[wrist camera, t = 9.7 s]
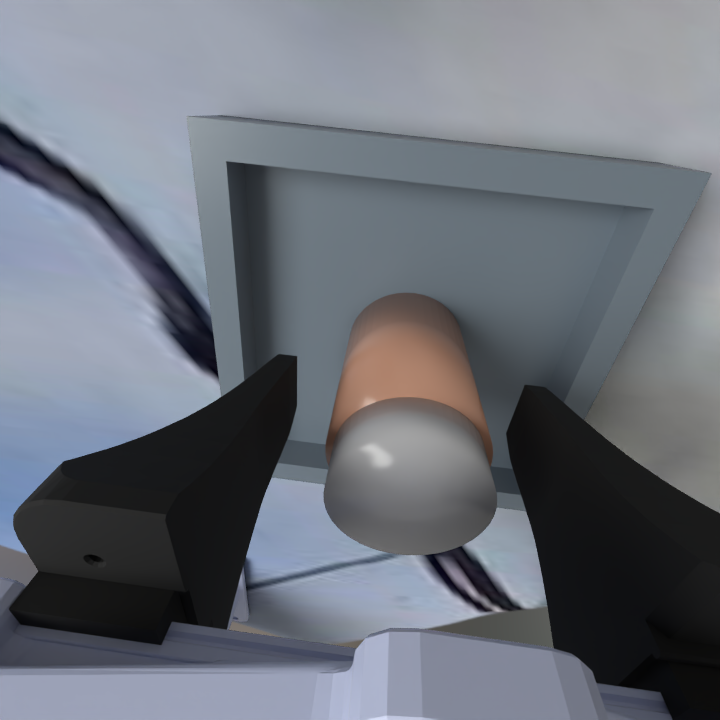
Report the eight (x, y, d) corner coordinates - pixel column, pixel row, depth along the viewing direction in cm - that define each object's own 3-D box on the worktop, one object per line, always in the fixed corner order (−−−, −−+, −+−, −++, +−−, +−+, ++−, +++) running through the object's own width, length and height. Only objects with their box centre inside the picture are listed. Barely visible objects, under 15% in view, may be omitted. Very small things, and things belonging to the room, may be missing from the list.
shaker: (345, 383, 17) (312, 547, 10) (353, 286, 14) (318, 421, 8) (448, 396, 17) (479, 569, 10) (474, 300, 14) (533, 448, 8)
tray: (248, 434, 20) (230, 471, 18) (221, 115, 13) (186, 116, 11) (521, 470, 20) (536, 512, 18) (659, 162, 12) (712, 173, 10)
